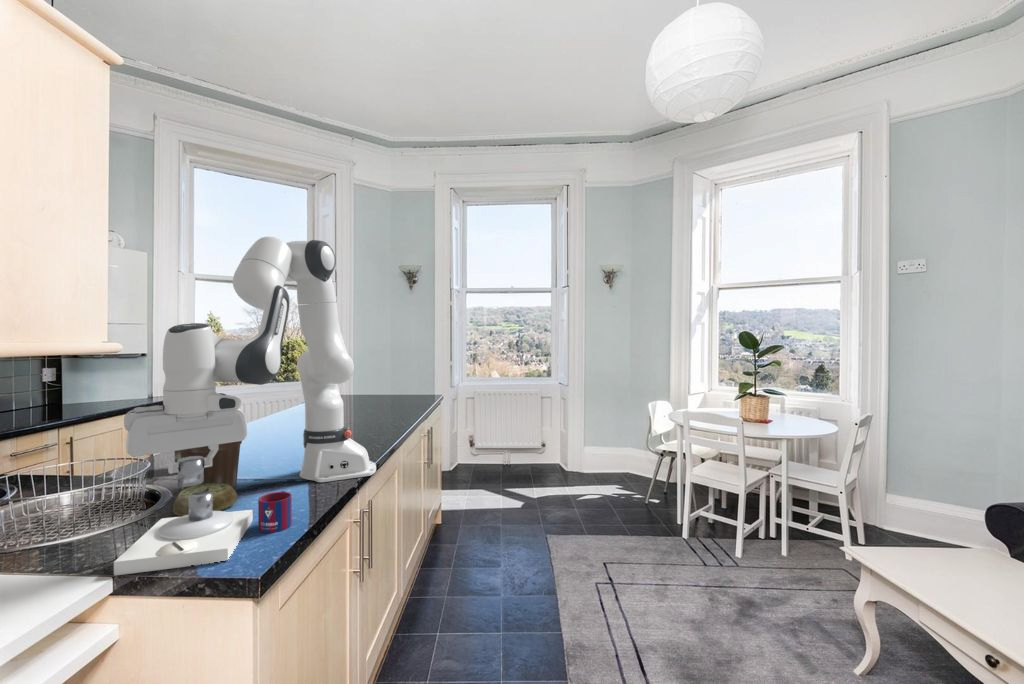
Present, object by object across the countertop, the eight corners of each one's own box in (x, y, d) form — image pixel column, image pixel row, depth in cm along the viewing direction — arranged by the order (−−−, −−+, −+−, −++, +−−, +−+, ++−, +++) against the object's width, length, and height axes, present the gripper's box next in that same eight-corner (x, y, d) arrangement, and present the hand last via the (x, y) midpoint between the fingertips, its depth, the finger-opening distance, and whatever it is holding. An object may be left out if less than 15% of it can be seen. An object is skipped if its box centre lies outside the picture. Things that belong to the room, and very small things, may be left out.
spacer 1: (206, 483, 94) (205, 459, 94) (180, 488, 91) (179, 463, 91) (200, 478, 97) (200, 454, 97) (175, 482, 94) (175, 458, 94)
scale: (252, 520, 107) (252, 506, 107) (226, 562, 87) (226, 545, 87) (161, 529, 101) (161, 514, 101) (112, 577, 82) (112, 558, 82)
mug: (252, 533, 100) (252, 502, 100) (273, 515, 110) (273, 487, 110) (284, 532, 100) (284, 502, 100) (302, 514, 110) (302, 486, 110)
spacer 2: (216, 516, 101) (216, 493, 101) (193, 523, 97) (193, 499, 97) (207, 511, 103) (207, 489, 103) (185, 518, 100) (184, 495, 100)
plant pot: (188, 482, 133) (187, 427, 133) (250, 477, 138) (250, 424, 138) (165, 502, 117) (164, 440, 117) (236, 495, 123) (236, 436, 122)
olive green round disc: (200, 522, 106) (200, 501, 106) (158, 515, 110) (157, 494, 110) (249, 501, 119) (249, 482, 119) (210, 495, 123) (210, 477, 123)
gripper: (125, 410, 84) (127, 485, 84) (249, 399, 98) (249, 462, 99) (121, 406, 88) (122, 477, 89) (240, 396, 103) (241, 457, 103)
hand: (190, 469), depth 94 cm, fingers closed on spacer 1, 4 cm apart
